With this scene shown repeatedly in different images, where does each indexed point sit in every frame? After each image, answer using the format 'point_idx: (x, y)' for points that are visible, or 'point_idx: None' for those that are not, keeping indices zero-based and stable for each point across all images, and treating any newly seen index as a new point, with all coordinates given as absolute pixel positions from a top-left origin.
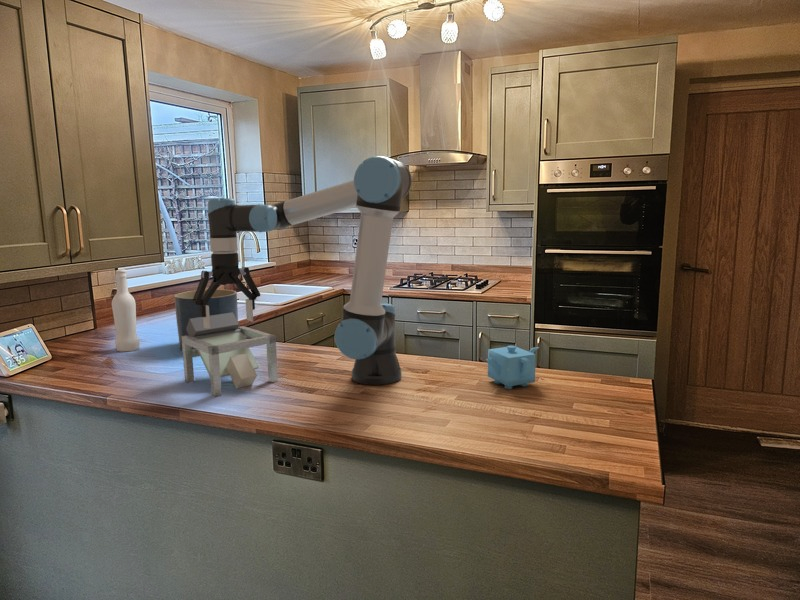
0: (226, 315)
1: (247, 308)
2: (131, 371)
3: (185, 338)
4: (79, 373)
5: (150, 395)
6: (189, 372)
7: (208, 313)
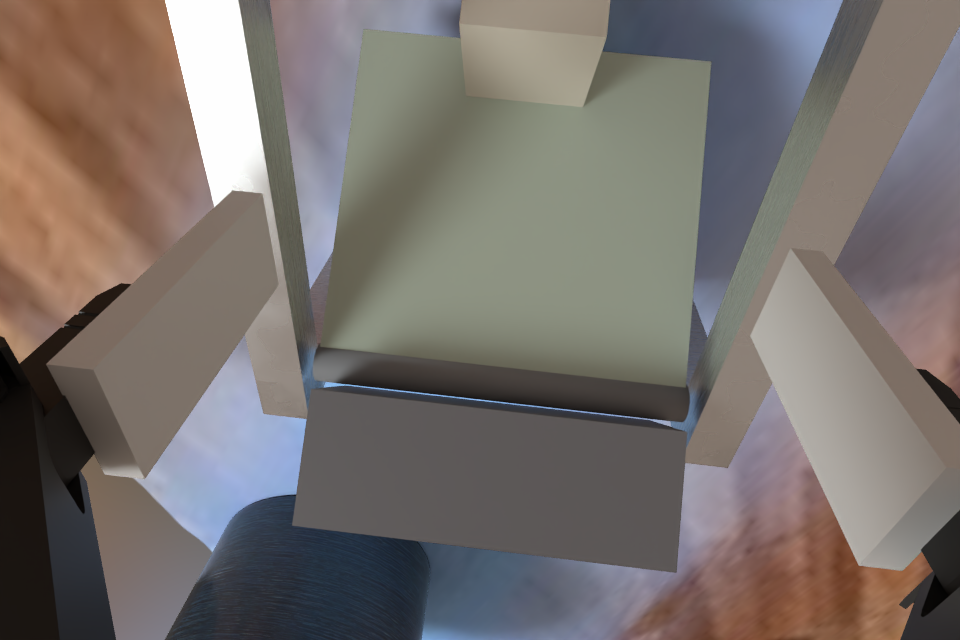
0: (362, 509)
1: (204, 347)
2: (687, 517)
3: (751, 417)
4: (789, 592)
5: (914, 227)
6: None
7: (892, 371)
